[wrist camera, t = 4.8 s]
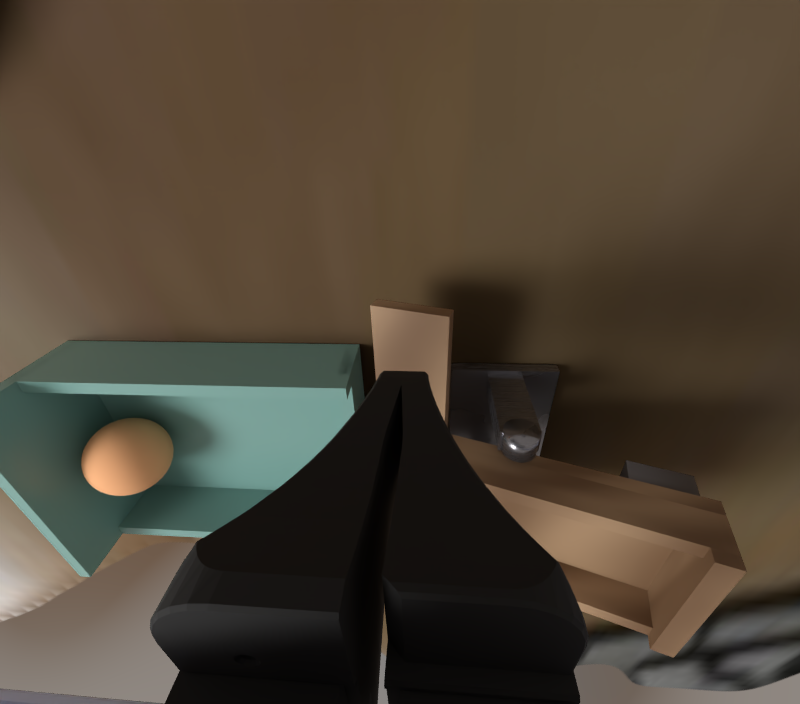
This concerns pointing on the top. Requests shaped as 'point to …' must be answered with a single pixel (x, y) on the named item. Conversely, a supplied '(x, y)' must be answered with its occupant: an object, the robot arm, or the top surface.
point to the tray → (183, 420)
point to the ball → (127, 456)
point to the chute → (588, 507)
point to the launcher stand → (503, 405)
